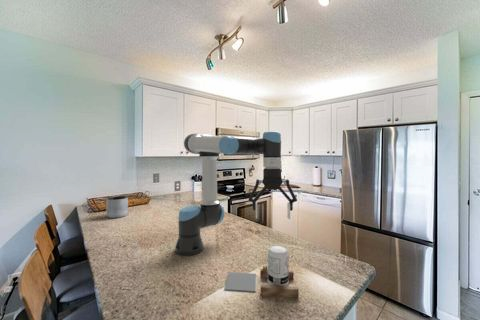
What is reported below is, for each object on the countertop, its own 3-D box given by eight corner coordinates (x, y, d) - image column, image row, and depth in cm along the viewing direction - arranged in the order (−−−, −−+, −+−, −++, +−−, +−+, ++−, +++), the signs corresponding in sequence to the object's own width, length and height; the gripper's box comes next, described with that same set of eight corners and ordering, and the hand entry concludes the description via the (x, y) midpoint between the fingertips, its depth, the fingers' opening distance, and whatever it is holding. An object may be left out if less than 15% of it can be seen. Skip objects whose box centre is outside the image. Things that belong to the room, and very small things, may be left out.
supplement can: (265, 280, 89) (266, 244, 89) (284, 279, 90) (285, 244, 89) (270, 292, 81) (270, 253, 81) (291, 291, 82) (291, 253, 81)
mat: (224, 290, 82) (224, 289, 82) (228, 273, 94) (228, 272, 94) (255, 292, 81) (255, 291, 81) (255, 274, 93) (255, 273, 93)
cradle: (260, 295, 79) (260, 283, 79) (260, 275, 93) (260, 265, 92) (298, 297, 78) (298, 285, 78) (292, 277, 91) (292, 266, 91)
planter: (112, 219, 169) (112, 200, 169) (102, 216, 178) (102, 198, 178) (131, 215, 183) (131, 197, 182) (121, 212, 191) (121, 195, 191)
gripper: (242, 168, 87) (242, 220, 87) (304, 168, 85) (304, 220, 85) (243, 167, 94) (243, 215, 95) (300, 167, 93) (300, 215, 93)
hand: (272, 218), depth 90 cm, fingers open, 13 cm apart
